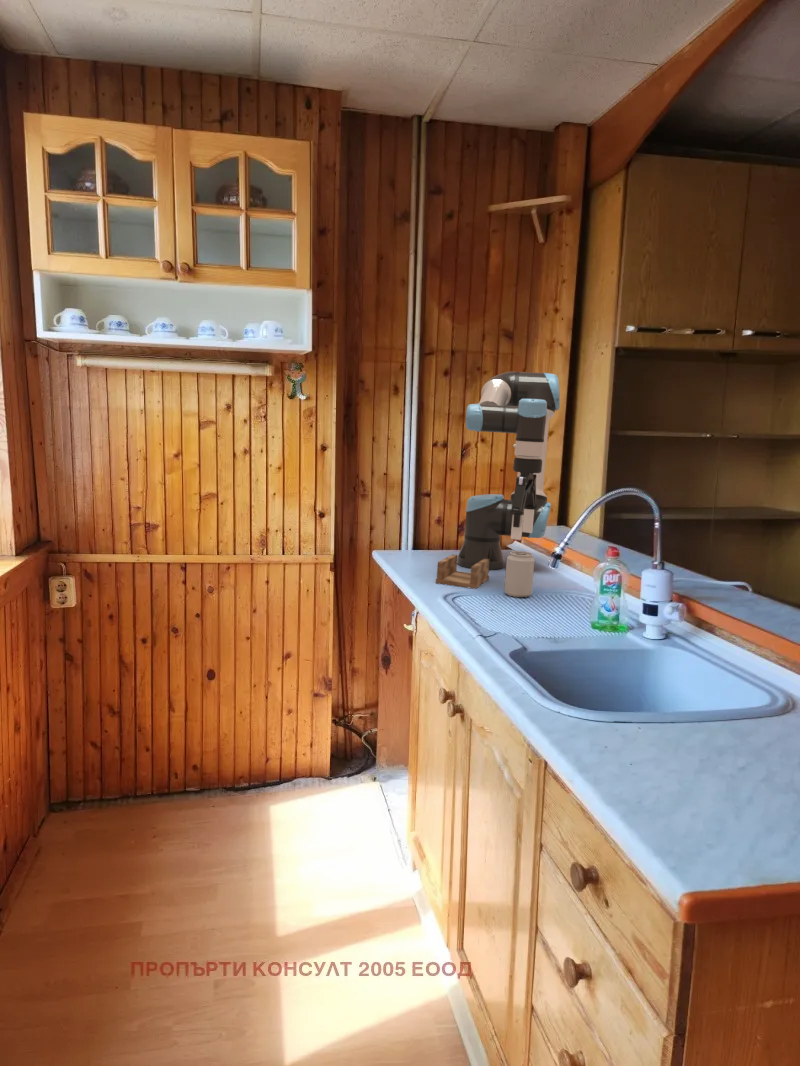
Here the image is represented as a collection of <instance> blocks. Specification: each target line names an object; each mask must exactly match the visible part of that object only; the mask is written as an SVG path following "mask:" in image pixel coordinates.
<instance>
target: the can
mask: <svg viewBox="0 0 800 1066" xmlns="http://www.w3.org/2000/svg"><path fill="white" fill-rule="evenodd" d="M534 569H535V558H534V556H533V553H532V552H529V551H521V550H513V551H512V550H511V551H510V552H509V555H507V557H506V564H505V580H504V588H503V589H504V593H505V594H506V595H507V596H508V595H509V596H508V597H511V596H513V597H512V598H517V597H526V598H528V597H530V596H531V595H532V593H533V581H534V571H535V570H534ZM527 596H528V597H527Z"/></svg>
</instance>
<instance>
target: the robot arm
mask: <svg viewBox="0 0 800 1066" xmlns="http://www.w3.org/2000/svg"><path fill="white" fill-rule="evenodd" d="M480 391H481V394H480V396H481V398H480V400H479V402H478V403H471V404H470V403H469V404H468V405H467V407H466V411H465V412H466V413H465V427H466V429H467V430H468V431H474V432H478V433H479V432H481V433H482V432H483V433H484V432H486V433H505V434H515V436H516V437H515V443H514V444H513V445H512V447H513V448H514V456H516V457H514V458H513V464H512V465H513V466H512V470H513V472H516V473H517V475H516V480H515V481H516V482H515V488H514V491H513V492H512V493H510V499H505V496H504V494H500V493H489V494H478V495H473V496H470V497H469V498H468V499H467V500H466V501H467V503H466V508H465V513H466V514H465V523H464V524H465V526H464V539H463V542H462V545H461V548H460V550H459V553H458V554H457V555H458V556H457V566H460V567H464V568H467V569H471V567H472V566H473V565H475V564H477V563H478V562H480V561H481V560H483V559H489V570H490V571H491V570H499V569H503V568H504V565H505V559H504V556H503V552H502V546H501V536H507V537H510V540H517V541H521V540H522V538H528V539H531V538H532V539H540V538H543V537H544V536H545V534H546V530H547V526H548V522H549V515H550V512H551V507H552V503H550V502H549V501H548V496H547V495H546V493H545V492H544V486H545V485H544V483H545V474H546V473H545V472H546V471H545V470H546V460H547V450H548V448H547V447H548V438H549V429H550V428H549V427H550V420H551V419H552V418H553V417H555V412H557V411H560V407H561V406H560V405H561V404H560V403H561V399H560V382H559V376H558V375H556V374H554V373H547V372H532V371H530V372H528V371H526V372H525V371H507V372H506V371H505V372H503V373H499V374H497V375H494V376H492V377H491V378H489V379H487V381H485V383H484V385H483V386H482V388H481V390H480Z"/></svg>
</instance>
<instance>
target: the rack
mask: <svg viewBox="0 0 800 1066" xmlns="http://www.w3.org/2000/svg"><path fill="white" fill-rule="evenodd" d="M458 555H459V554H451V555H449V556H447V557H445V558H443V559H441V560H439V561H437V569H436V571H437V572H436V578H435V584H438V583H440V584H439V585H445V584H447V586H452V585H454V586H453V587H459V586H461V588H466V587H470V588H469V589H473V588H476V589H478V588H479V587H481V586H482V585H483V584H484V582H485V581H486V582H487V581H489V580H488V579H490V575H489V559H483V560H481V561H480V562H478V563H477V564H475V565H473V566H472V567H471V568H470V572H467V571H466V572H465V571H458V570H457V569H458V564H457V559H458ZM486 582H485V583H486ZM482 583H483V584H482ZM481 584H482V585H481ZM480 585H481V586H480ZM478 586H479V587H478ZM477 587H478V588H477Z"/></svg>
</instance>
